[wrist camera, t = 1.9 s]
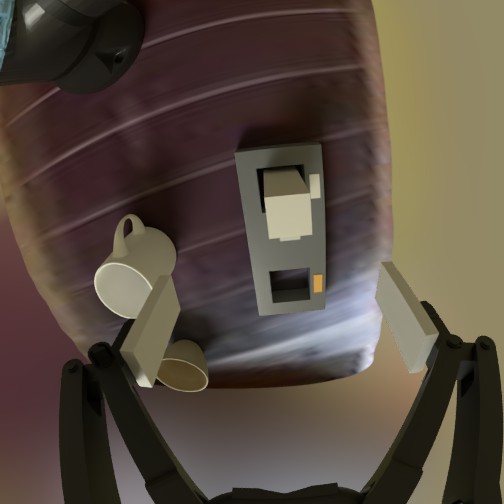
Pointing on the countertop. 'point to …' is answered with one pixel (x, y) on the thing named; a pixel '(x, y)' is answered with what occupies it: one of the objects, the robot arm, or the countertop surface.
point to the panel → (273, 250)
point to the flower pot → (184, 367)
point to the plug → (287, 204)
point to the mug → (134, 267)
